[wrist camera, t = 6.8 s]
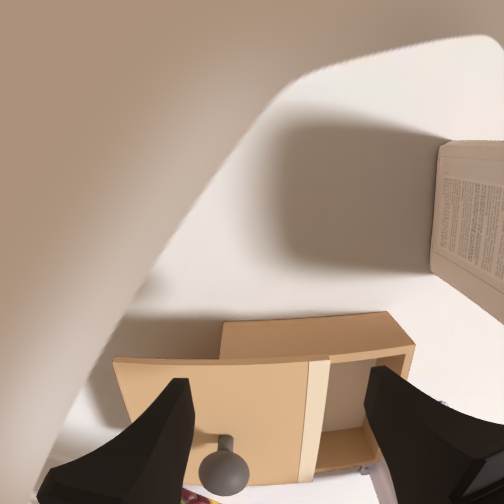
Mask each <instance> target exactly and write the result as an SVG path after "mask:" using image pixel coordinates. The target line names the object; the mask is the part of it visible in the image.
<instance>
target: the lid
mask: <svg viewBox="0 0 504 504" xmlns="http://www.w3.org/2000/svg"><path fill="white" fill-rule="evenodd" d="M330 361H331V360H330V357H329V355H328V354H319V355H307V356H293V357H276V358H254V359H153V358H132V357H115V358H114V360H113V361H112V363H113V367H114V370H115V374H116V377H117V380H118V384H119V387H120V390H121V393H122V396H123V399H124V402H125V405H126V408H127V411H128V414H129V417H130V420H131V422H132V423H133V422H134V421H135V420H136V419H137V418H138V417H139V416H140V415H141V414H142V413H143V412H144V411H145V410H146V409H147V408H148V407H149V406H150V405H151V404H152V402H153V401H154V400H155V399H156V398H157V397H158V396H159V394H160V393H161V392H162V391H163V390H164V388H165V387H166V386H167V385H168V383H169V382H170V381H171V380H172V379H173V378H189V382H190V388H191V394H192V399H193V404H194V410H195V427H194V436H193V441H192V445H191V450H190V454H189V458H188V463H187V467H186V471H185V476H184V480H183V484H186V485H203V487H204V488H205V489H206V490H208V491H209V492H211V493H213V494H215V495H218V496H231V495H234V494H237V493H239V492H240V491H242V490H243V489H244V488H245V486H263V485H280V484H293V483H306V482H313V477H314V472H315V466H316V461H317V455H318V449H319V443H320V437H321V431H322V424H323V417H324V410H325V403H326V395H327V387H328V379H329V370H330Z"/></svg>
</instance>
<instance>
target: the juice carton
mask: <svg viewBox="0 0 504 504" xmlns="http://www.w3.org/2000/svg"><path fill="white" fill-rule="evenodd" d="M181 504H221V503H219V502H216V501H214V500H211V499H209V498H206V497H204V496H201V495H199V494H196V493H194V492H192V491H189V490H187V489H185V488H183V487H182V495H181Z"/></svg>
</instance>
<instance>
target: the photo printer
mask: <svg viewBox="0 0 504 504" xmlns="http://www.w3.org/2000/svg"><path fill="white" fill-rule="evenodd" d="M430 269H431V271H432V272H433V273H434V274H435V275H436V276H438V277H439V278H441V279H442V280H444V281H445V282H447V283H448V284H450V285H451V286H452V287H454V288H455V289H456V290H458V291H459V292H461V293H462V294H463V295H465V296H466V297H468V298H469V299H470V300H472V301H473V302H474V303H476V304H477V305H478V306H480V307H481V308H482V309H484V310H485V311H486V312H488V313H489V314H490V315H492V316H493V317H494V318H496V319H497V320H498V321H499V322H501V323H502V324H503V325H504V141H488V140H459V141H450V142H447V143H446V144H444V145H441V146H440V148H439V153H438V160H437V175H436V192H435V205H434V218H433V229H432V238H431V250H430Z"/></svg>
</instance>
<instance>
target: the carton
mask: <svg viewBox="0 0 504 504" xmlns="http://www.w3.org/2000/svg"><path fill="white" fill-rule="evenodd" d="M415 346H416V344H415V343H414V342H413V340H412V339H411V338H410V337H409V336H408V335H407V333H406V332H405V331H404V330H403V329H402V328H401V326H400V325H399V324H398V323H397V322H396V321H395V320H394V318H393V317H392V316H391V315H390V314H389V313H388V312H377V313H366V314H355V315H343V316H330V317H316V318H301V319H283V320H261V321H232V322H224V324H223V331H222V339H221V347H220V355H219V359H254V358H276V357H293V356H307V355H319V354H328V355H329V357H330V360H331V361H330V370H329V379H328V387H327V395H326V403H325V410H324V417H323V424H322V431H321V437H320V443H319V449H318V455H317V461H316V466H315V472H314V473H321V472H329V471H335V470H342V469H348V468H353V467H359V466H364V465H369V464H374V463H378V462H380V461H381V458H382V455H383V454H382V452H381V450H380V448H379V446H378V443H377V441H376V439H375V437H374V434H373V432H372V430H371V428H370V425H369V422H368V419H367V416H366V412H365V408H364V405H363V404H364V399H365V395H366V390H367V385H368V380H369V375H370V370H371V367H376V366H383V365H385V366H387V367H388V368H389V369H391V370H392V371H394V372H395V373H396V374H398V375H399V376H401V377H402V378H403V379H405V380H406V381H407V378H408V374H409V371H410V367H411V363H412V358H413V354H414V350H415Z"/></svg>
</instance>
